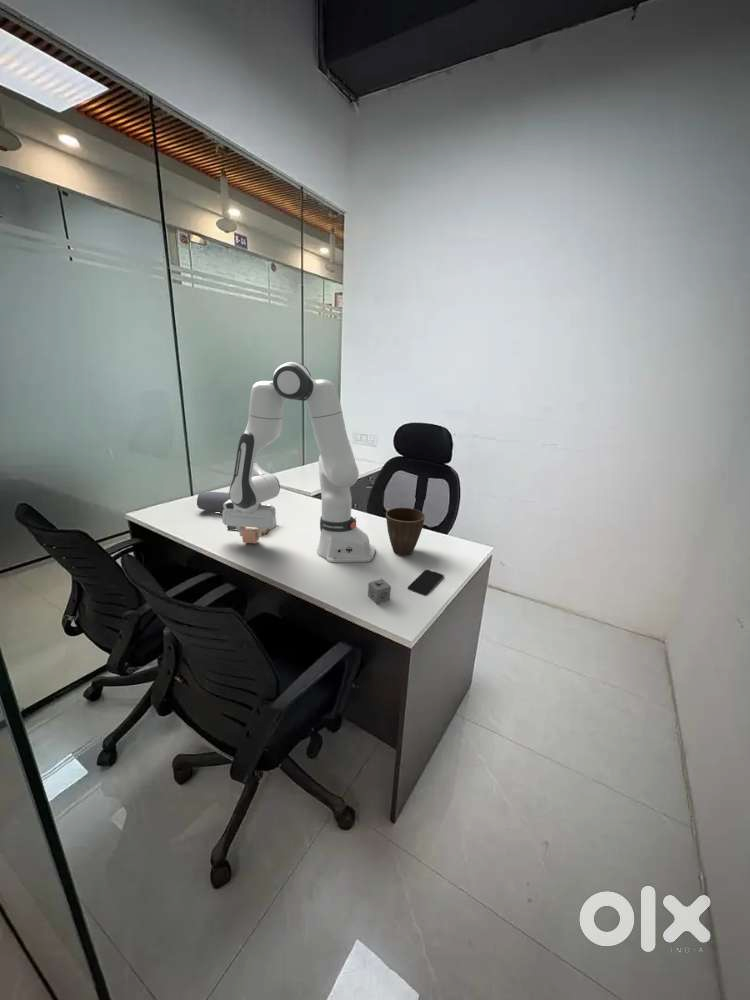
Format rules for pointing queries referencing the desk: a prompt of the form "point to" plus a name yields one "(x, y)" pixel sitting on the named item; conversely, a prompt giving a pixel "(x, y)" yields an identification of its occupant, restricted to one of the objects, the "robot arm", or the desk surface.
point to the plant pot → (404, 529)
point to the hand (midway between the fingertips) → (250, 536)
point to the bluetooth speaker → (212, 501)
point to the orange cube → (249, 535)
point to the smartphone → (425, 582)
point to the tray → (233, 527)
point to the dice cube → (379, 591)
